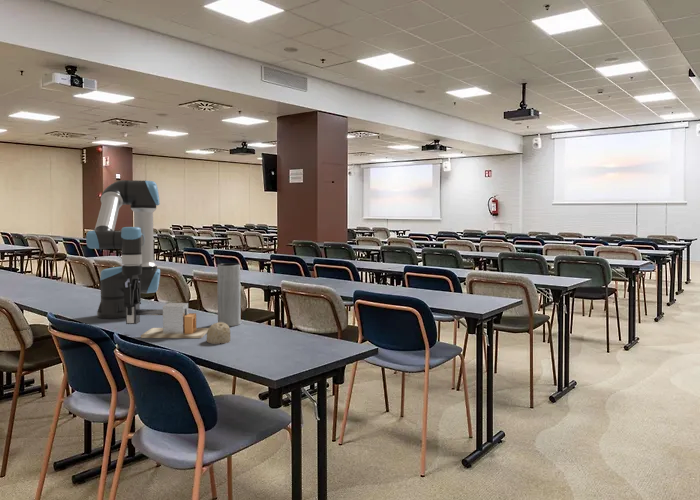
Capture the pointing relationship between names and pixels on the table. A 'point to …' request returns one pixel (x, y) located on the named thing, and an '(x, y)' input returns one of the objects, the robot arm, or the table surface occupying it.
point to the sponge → (218, 333)
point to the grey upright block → (174, 318)
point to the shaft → (143, 312)
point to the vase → (229, 294)
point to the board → (159, 334)
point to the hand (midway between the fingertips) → (133, 321)
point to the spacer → (190, 323)
